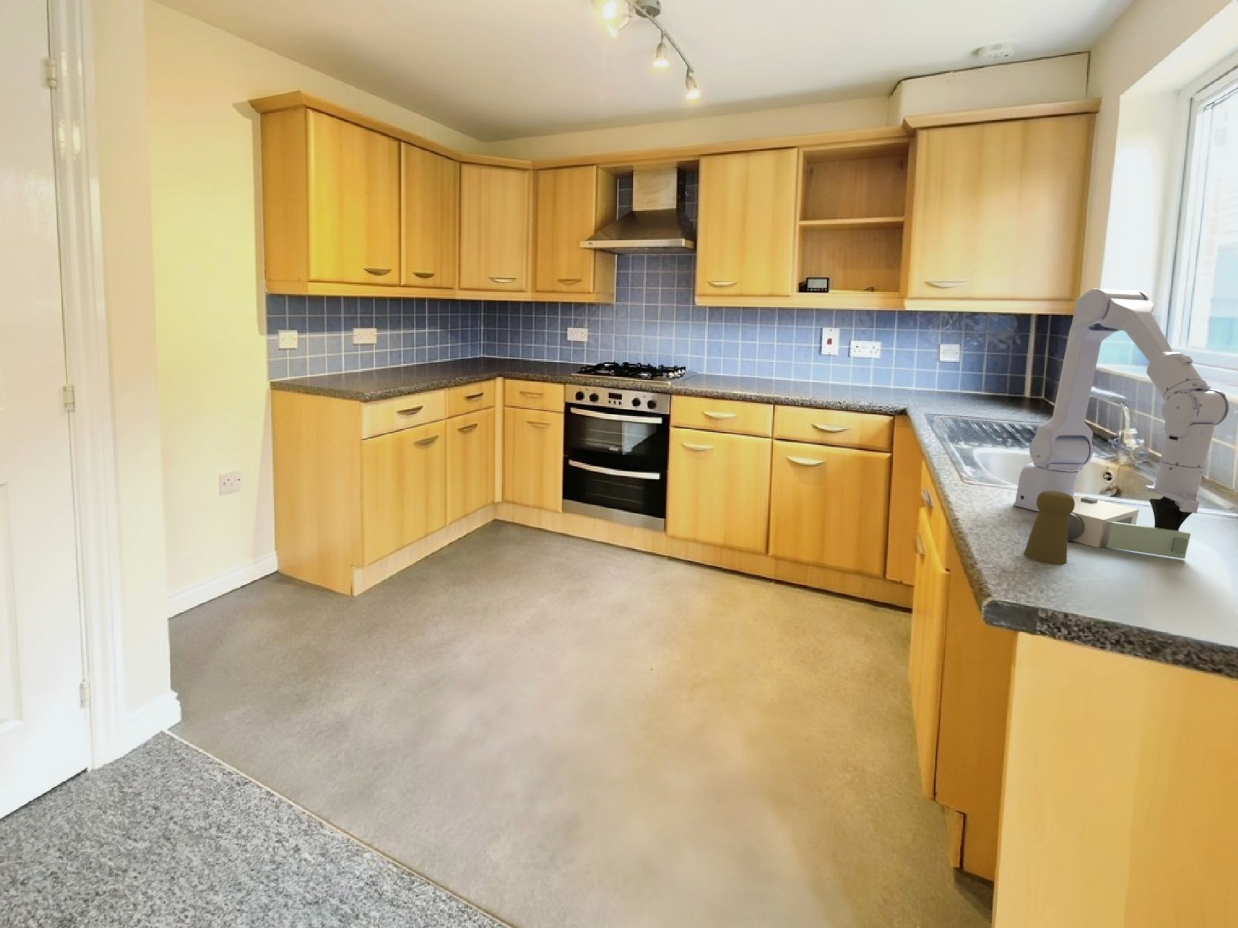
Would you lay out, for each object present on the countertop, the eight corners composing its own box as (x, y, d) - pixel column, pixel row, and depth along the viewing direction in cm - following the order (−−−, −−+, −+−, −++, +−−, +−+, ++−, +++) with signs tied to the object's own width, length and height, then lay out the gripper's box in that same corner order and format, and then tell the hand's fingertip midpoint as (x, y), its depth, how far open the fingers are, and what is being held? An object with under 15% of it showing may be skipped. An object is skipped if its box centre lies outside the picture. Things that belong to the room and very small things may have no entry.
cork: (1027, 548, 117) (1039, 485, 115) (1069, 557, 114) (1082, 492, 111) (1020, 557, 113) (1032, 492, 110) (1063, 567, 109) (1077, 499, 107)
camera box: (1033, 532, 126) (1038, 502, 125) (1074, 520, 135) (1079, 492, 134) (1093, 549, 118) (1100, 517, 117) (1133, 535, 127) (1139, 506, 126)
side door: (1101, 544, 120) (1106, 520, 119) (1183, 557, 115) (1189, 532, 114) (1103, 547, 118) (1108, 522, 117) (1185, 560, 114) (1191, 534, 113)
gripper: (1139, 452, 121) (1122, 526, 124) (1167, 469, 108) (1147, 552, 111) (1188, 457, 119) (1170, 532, 122) (1223, 475, 106) (1201, 559, 109)
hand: (1163, 542), depth 116 cm, fingers closed, pressing on side door
